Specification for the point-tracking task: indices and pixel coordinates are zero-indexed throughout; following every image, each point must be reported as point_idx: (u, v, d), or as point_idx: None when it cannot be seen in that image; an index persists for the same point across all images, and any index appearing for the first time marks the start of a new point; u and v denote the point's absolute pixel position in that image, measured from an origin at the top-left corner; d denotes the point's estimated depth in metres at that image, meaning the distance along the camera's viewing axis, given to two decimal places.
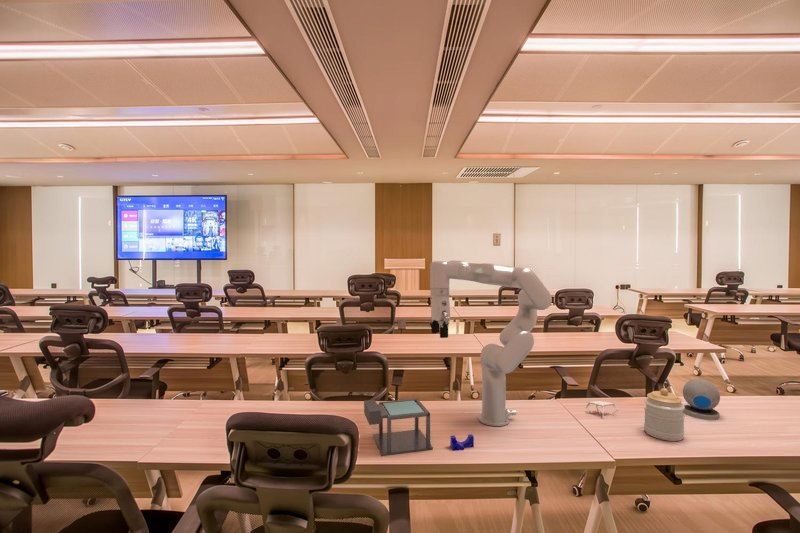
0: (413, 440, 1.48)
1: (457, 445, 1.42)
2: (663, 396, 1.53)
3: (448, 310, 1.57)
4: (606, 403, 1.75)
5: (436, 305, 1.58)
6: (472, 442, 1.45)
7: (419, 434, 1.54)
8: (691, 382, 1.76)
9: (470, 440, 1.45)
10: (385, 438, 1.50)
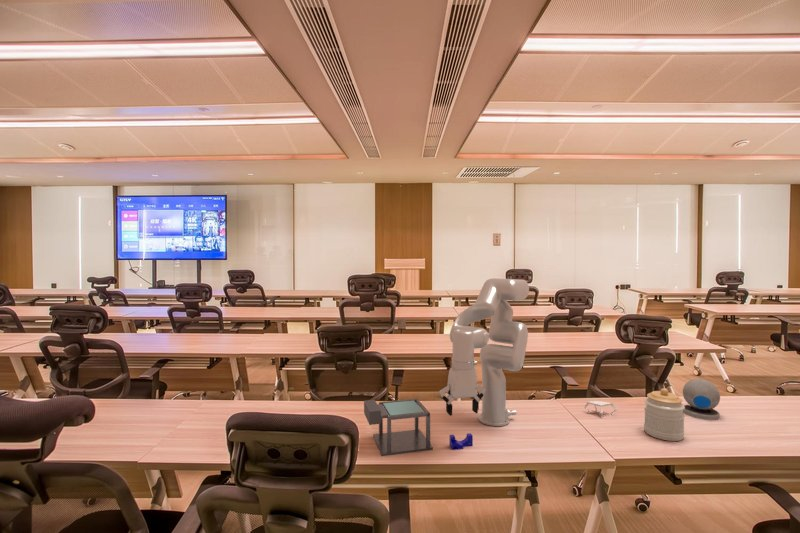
0: (413, 440, 1.48)
1: (456, 444, 1.43)
2: (663, 396, 1.53)
3: None
4: (605, 403, 1.75)
5: (473, 380, 1.42)
6: (471, 441, 1.46)
7: (419, 434, 1.54)
8: (691, 382, 1.76)
9: (469, 439, 1.45)
10: (385, 438, 1.50)
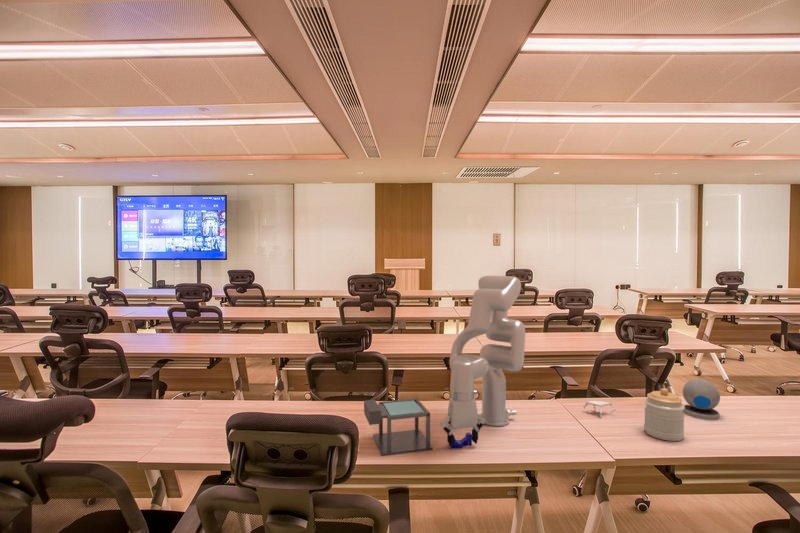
0: (413, 440, 1.48)
1: (456, 443, 1.44)
2: (663, 396, 1.53)
3: None
4: (604, 403, 1.75)
5: (473, 410, 1.42)
6: (470, 440, 1.46)
7: (419, 434, 1.54)
8: (691, 382, 1.76)
9: (468, 438, 1.46)
10: (385, 438, 1.50)
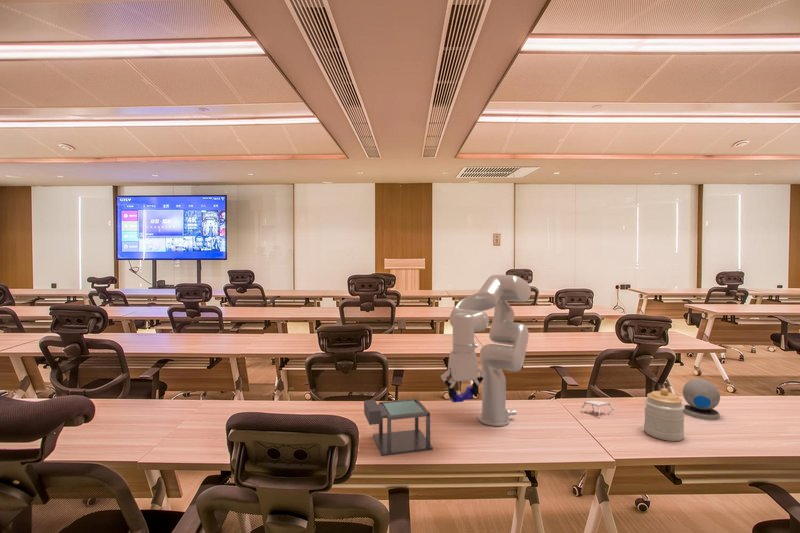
0: (413, 440, 1.48)
1: (457, 396, 1.44)
2: (663, 396, 1.53)
3: None
4: (602, 403, 1.75)
5: (473, 362, 1.42)
6: (471, 393, 1.46)
7: (419, 434, 1.54)
8: (691, 382, 1.76)
9: (469, 391, 1.46)
10: (385, 438, 1.50)
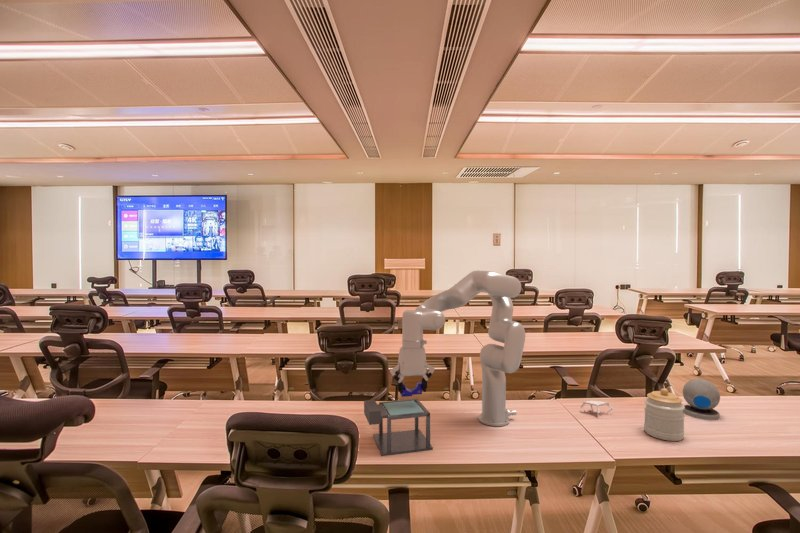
0: (413, 440, 1.48)
1: (405, 391, 1.48)
2: (663, 396, 1.53)
3: None
4: (601, 402, 1.75)
5: (421, 358, 1.47)
6: (420, 389, 1.50)
7: (419, 434, 1.54)
8: (691, 382, 1.76)
9: (418, 386, 1.50)
10: (385, 438, 1.50)
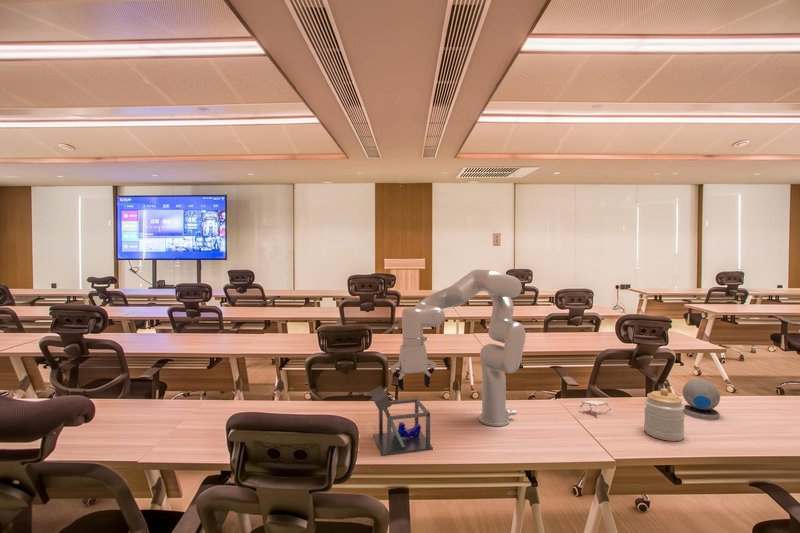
0: (413, 440, 1.48)
1: (405, 432, 1.48)
2: (663, 396, 1.53)
3: None
4: (600, 402, 1.75)
5: (422, 355, 1.47)
6: (418, 431, 1.51)
7: (419, 434, 1.54)
8: (691, 382, 1.76)
9: (417, 429, 1.51)
10: (385, 438, 1.50)
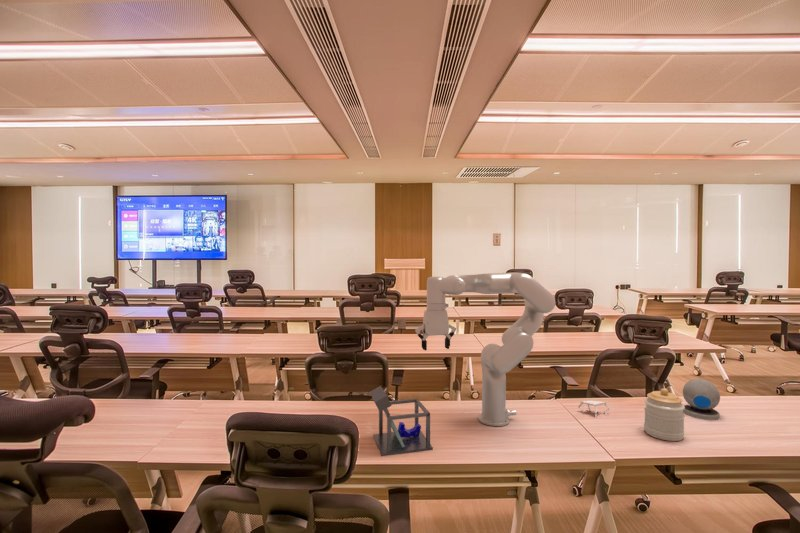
0: (413, 440, 1.48)
1: (405, 432, 1.48)
2: (663, 396, 1.53)
3: None
4: (598, 402, 1.76)
5: (444, 319, 1.63)
6: (418, 431, 1.51)
7: (419, 434, 1.54)
8: (691, 382, 1.76)
9: (417, 429, 1.51)
10: (385, 438, 1.50)
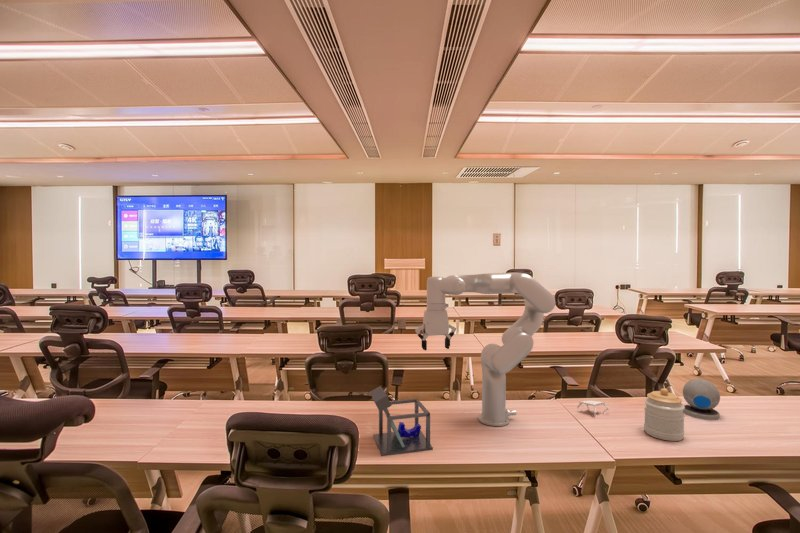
0: (413, 440, 1.48)
1: (405, 432, 1.48)
2: (663, 396, 1.53)
3: None
4: (597, 402, 1.76)
5: (444, 319, 1.63)
6: (418, 431, 1.51)
7: (419, 434, 1.54)
8: (691, 382, 1.76)
9: (417, 429, 1.51)
10: (385, 438, 1.50)
